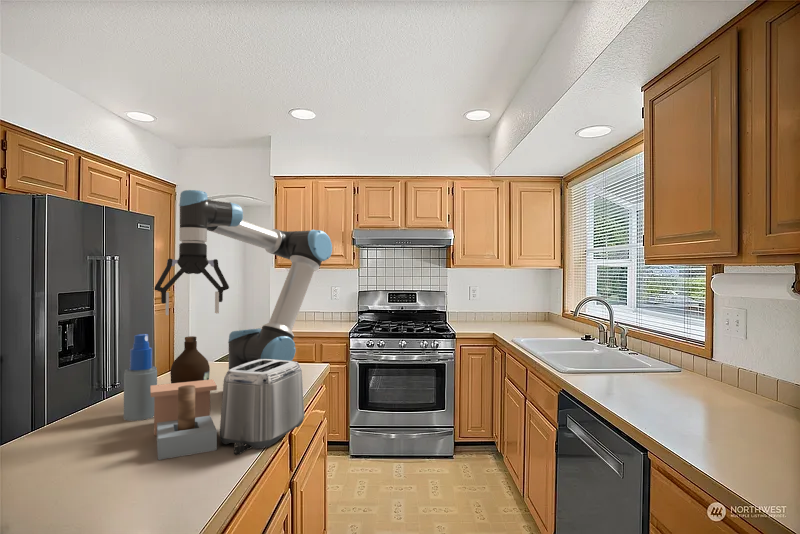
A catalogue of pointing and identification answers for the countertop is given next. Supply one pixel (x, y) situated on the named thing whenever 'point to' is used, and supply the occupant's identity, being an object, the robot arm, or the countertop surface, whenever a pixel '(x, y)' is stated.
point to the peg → (186, 407)
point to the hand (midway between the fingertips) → (192, 314)
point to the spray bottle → (139, 381)
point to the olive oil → (190, 364)
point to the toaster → (261, 403)
